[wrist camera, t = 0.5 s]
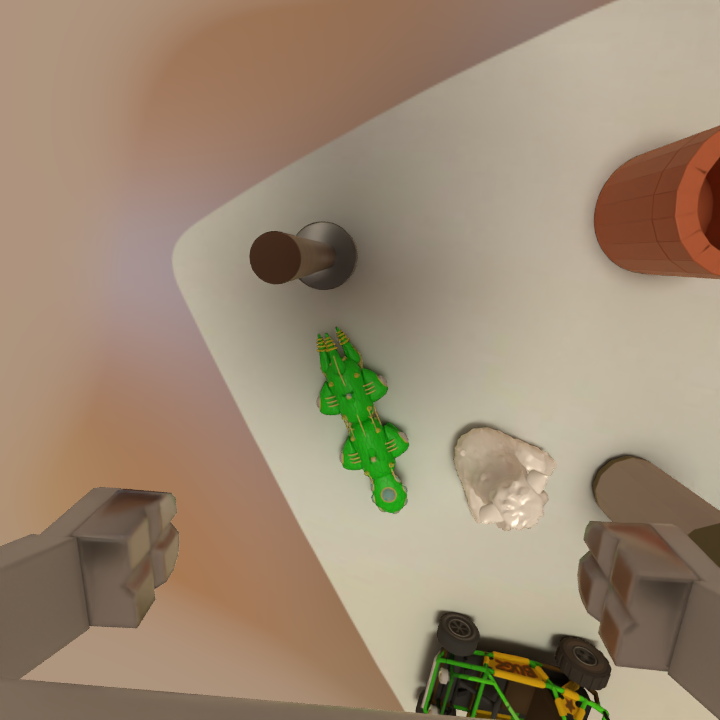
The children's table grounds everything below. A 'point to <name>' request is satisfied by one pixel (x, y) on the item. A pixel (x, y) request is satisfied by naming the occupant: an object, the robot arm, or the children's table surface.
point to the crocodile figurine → (362, 421)
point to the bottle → (656, 501)
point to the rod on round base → (306, 256)
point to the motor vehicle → (511, 679)
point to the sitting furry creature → (503, 478)
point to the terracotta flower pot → (665, 210)
